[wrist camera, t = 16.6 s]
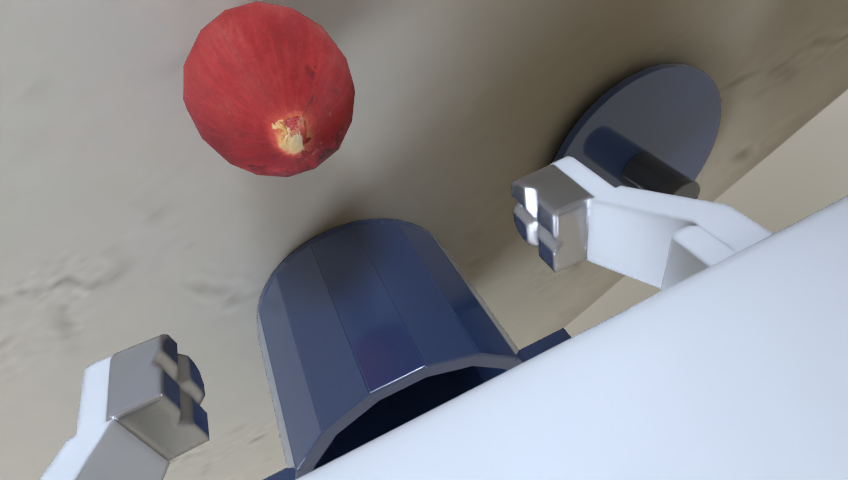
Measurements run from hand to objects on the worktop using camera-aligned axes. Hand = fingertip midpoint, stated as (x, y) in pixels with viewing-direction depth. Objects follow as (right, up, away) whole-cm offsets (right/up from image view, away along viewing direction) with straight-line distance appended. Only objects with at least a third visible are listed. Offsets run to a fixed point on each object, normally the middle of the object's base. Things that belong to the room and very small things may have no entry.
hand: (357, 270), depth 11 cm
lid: (+15, +6, +22) cm, 28 cm away
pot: (-3, -3, +20) cm, 21 cm away
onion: (-6, +8, +9) cm, 14 cm away
